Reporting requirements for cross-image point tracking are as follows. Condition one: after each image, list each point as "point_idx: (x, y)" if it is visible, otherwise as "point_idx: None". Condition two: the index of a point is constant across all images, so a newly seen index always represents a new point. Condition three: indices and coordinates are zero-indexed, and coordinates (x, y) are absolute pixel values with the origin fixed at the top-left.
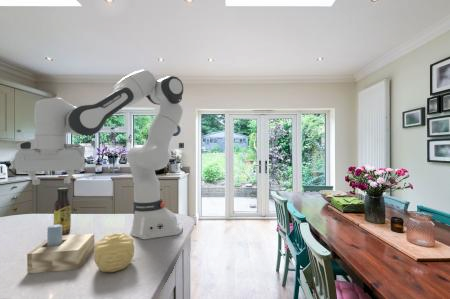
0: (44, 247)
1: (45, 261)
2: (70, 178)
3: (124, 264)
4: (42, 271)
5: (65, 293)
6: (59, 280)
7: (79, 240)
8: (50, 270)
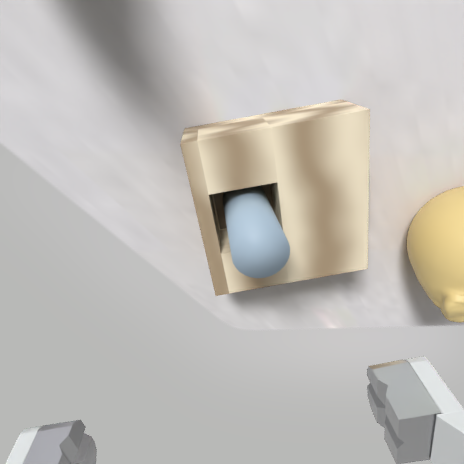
0: None
1: None
2: (457, 400)
3: None
4: None
5: (360, 325)
6: (321, 286)
7: (335, 193)
8: None
